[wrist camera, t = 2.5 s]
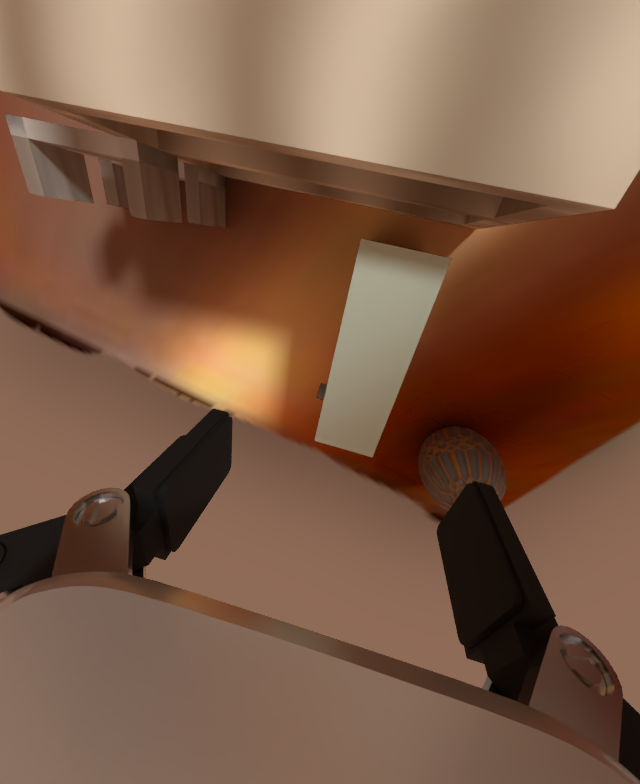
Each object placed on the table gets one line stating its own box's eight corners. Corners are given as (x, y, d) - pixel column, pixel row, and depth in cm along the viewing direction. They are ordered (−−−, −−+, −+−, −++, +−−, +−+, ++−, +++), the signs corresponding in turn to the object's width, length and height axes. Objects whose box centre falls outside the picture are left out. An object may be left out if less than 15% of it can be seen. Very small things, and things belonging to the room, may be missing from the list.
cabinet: (548, 58, 14) (1095, -552, 3) (455, 279, 20) (542, 323, 9) (115, -7, 17) (-425, -507, 6) (143, 209, 22) (-91, 176, 11)
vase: (428, 474, 30) (444, 551, 22) (404, 427, 28) (412, 496, 20) (497, 458, 27) (540, 540, 20) (476, 405, 25) (516, 475, 17)
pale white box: (422, 251, 20) (451, 258, 11) (376, 387, 26) (372, 457, 18) (360, 237, 20) (343, 234, 12) (329, 374, 26) (302, 437, 18)
